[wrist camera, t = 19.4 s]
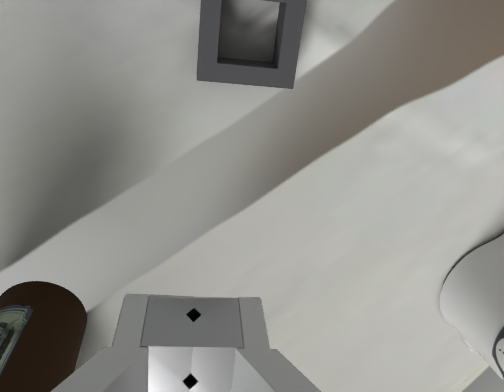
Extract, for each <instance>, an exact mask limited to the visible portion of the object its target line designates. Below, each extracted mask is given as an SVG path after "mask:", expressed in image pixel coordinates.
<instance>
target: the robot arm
mask: <svg viewBox="0 0 504 392" xmlns="http://www.w3.org/2000/svg"><path fill="white" fill-rule="evenodd" d="M440 310H441V313H442V316H443V318H444V319H445V321H446V322H447V323H448V324H449V325H450V326H451V327H452V328H454V329H455V330H456V331H457V332H458V333H459V334H460V335H461V336H462V339H463V341H464V343H465V345H466V346H467V347H468V348H469V349H470V350H471V351H472V352H477V353H478V354H479V355H480V356H481V357H482V358H483V359H484V360H485V361H486V362H487V363H488V364H489V365H490V367H491V368H492V369H493V370H494V371H495V372H496V373H497V374H498V375H499V376H500V377H501V378H502V379H503V380H504V233H503V234H502V235H501V236H500V237H498V238H496V239H495V240H493V241H491V242H488V243H486V244H484V245H482V246H480V247H479V248H477V249H475V250H474V251H472V252H471V253H469V254H468V255H467V256H465V257H464V258H463V259H462V260H461V261H460V262H459V263H458V264H457V265H456V266H455V267H454V268H453V270H452V271H451V272H450V274H449V275H448V277H447V279H446V280H445V283H444V285H443V287H442V290H441V294H440ZM51 392H321V391H320V390H319V389H318V388H317V387H316V386H315V385H314V384H313V383H312V382H311V381H309V380H308V379H307V378H306V377H305V376H304V375H303V374H302V373H301V372H300V371H299V370H298V369H297V368H296V367H295V366H294V365H293V364H292V363H291V362H290V361H289V360H287V359H286V358H285V357H284V356H283V355H282V354H281V353H280V352H279V351H278V350H277V349H270V346H269V340H268V334H267V329H266V323H265V317H264V312H263V306H262V301H261V299H260V298H259V297H238V298H224V297H193V296H173V295H153V294H150V295H148V294H126V295H125V297H124V300H123V304H122V308H121V312H120V315H119V319H118V323H117V327H116V331H115V335H114V339H113V343H112V347H104V348H102V349H101V350H100V351H99V352H98V353H96V354H95V355H94V356H93V357H92V358H90V359H89V360H88V361H87V362H86V363H84V364H83V365H82V366H81V367H80V368H78V369H77V370H76V371H75V372H74V373H72V374H71V375H70V376H69V377H68V378H66V379H65V380H64V381H63V382H62V383H60V384H59V385H58V386H57V387H56V388H54V389H53V390H52V391H51Z"/></svg>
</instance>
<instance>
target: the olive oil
mask: <svg viewBox="0 0 504 392" xmlns="http://www.w3.org/2000/svg"><path fill="white" fill-rule="evenodd" d="M86 323H87V315H86V311H85V308H84V306H83V304H82V303H81V301H80V300H79V299H78V298H77V297H76V296H75V295H74V294H73V293H72V292H70V291H69V290H67V289H65V288H63V287H61V286H59V285H56V284H53V283H49V282H41V281H32V282H24V283H20V284H17V285H15V286H13V287H11V288H9V289H8V290H6V291H5V292H4V293H3V294H2V295H1V296H0V392H51V391H52V390H53V389H54V388H56V387H57V386H58V385H59V384H60V383H62V382H63V381H64V380H65V379H66V378H68V377H69V376H70V375H71V374H72V373H74V369H75V365H76V361H77V357H78V354H79V350H80V346H81V343H82V339H83V335H84V332H85V328H86Z"/></svg>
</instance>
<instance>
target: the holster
mask: <svg viewBox="0 0 504 392" xmlns="http://www.w3.org/2000/svg"><path fill="white" fill-rule="evenodd" d="M265 1H273V2H280V6H279V14H278V22H277V30H276V38H275V46H274V54H273V61H272V63H270V62H260V61H250V60H239V59H229V58H219V57H217V55H218V42H219V29H220V16H221V2H222V0H201V11H200V28H199V45H198V63H197V80H198V81H209V82H221V83H232V84H243V85H254V86H266V87H277V88H289V89H293V86H294V79H295V72H296V66H297V59H298V52H299V46H300V39H301V32H302V25H303V19H304V12H305V5H306V0H265Z"/></svg>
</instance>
